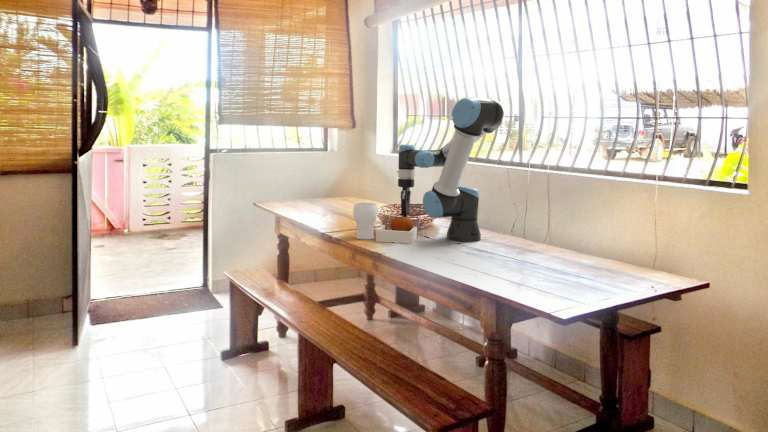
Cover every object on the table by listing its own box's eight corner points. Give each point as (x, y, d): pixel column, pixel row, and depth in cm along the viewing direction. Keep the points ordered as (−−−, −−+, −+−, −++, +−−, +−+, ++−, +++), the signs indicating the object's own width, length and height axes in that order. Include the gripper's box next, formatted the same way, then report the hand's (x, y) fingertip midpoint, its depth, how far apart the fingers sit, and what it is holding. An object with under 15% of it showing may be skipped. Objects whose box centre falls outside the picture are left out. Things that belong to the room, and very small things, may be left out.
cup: (374, 241, 269) (374, 206, 267) (350, 239, 271) (350, 205, 269) (379, 236, 279) (380, 203, 277) (356, 235, 281) (356, 201, 279)
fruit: (417, 235, 284) (418, 218, 283) (399, 237, 278) (399, 219, 277) (404, 231, 293) (404, 214, 291) (385, 233, 287) (386, 216, 286)
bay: (383, 234, 283) (383, 219, 282) (417, 237, 280) (418, 221, 279) (375, 241, 268) (375, 225, 267) (411, 243, 265) (412, 227, 264)
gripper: (401, 176, 296) (399, 226, 299) (395, 179, 283) (394, 230, 287) (416, 177, 294) (415, 226, 298) (411, 180, 281) (410, 231, 285)
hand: (404, 228), depth 292 cm, fingers closed
